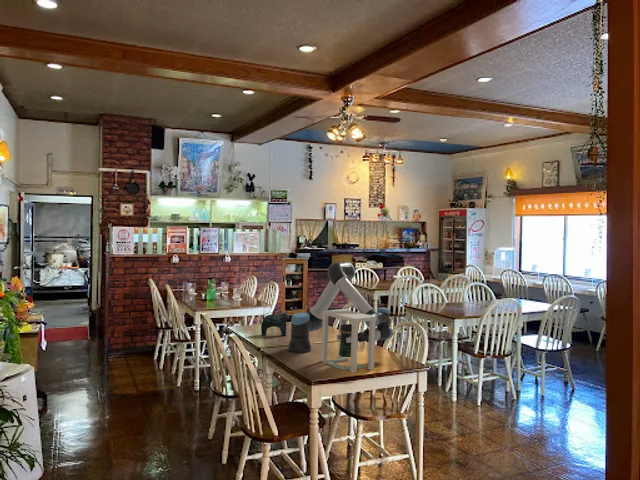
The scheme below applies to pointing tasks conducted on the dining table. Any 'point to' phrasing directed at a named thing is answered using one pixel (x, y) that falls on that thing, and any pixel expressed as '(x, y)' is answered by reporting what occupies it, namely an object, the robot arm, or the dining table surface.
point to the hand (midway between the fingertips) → (341, 338)
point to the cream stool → (354, 318)
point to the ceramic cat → (275, 322)
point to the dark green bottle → (345, 333)
